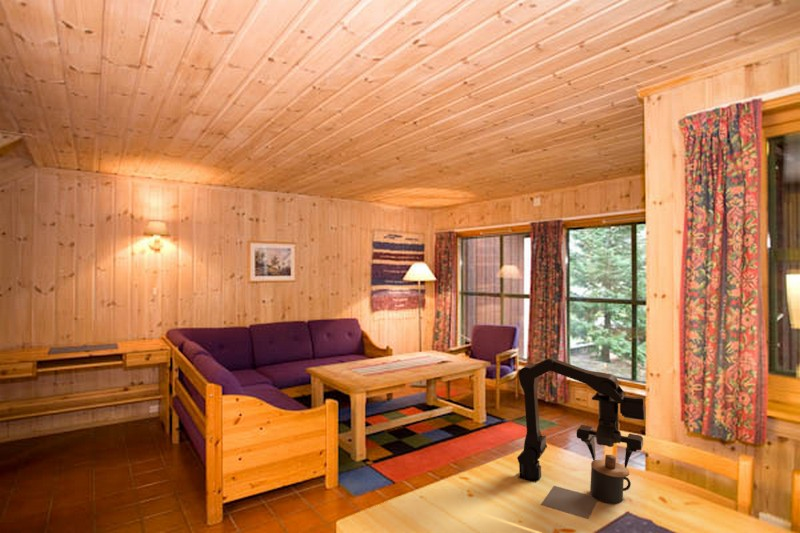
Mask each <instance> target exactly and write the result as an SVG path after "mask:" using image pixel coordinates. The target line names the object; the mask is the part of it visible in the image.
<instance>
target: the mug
mask: <svg viewBox="0 0 800 533" xmlns="http://www.w3.org/2000/svg"><path fill="white" fill-rule="evenodd" d="M590 466H591V465H590ZM590 468H591V470H590V487H589V488H590V490H589V492H590V494H591V496H593V497H594V498H596V499H597V501H600V502H603V503H606V504H610V505H611V504H612V505H618V504H621V503H622V502H623V498H624V492H626V491H629V489H630V487H631V484H632V483H631V481H630V479H629V477H628V476H626V477H613V476H608V475H605V474H602V473H600V472H598V471H596V470H594V469H593V468H592V466H591V467H590ZM624 480H626V482H627V485H626V487H624V482H625V481H624Z"/></svg>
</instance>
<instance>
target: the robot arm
mask: <svg viewBox="0 0 800 533" xmlns="http://www.w3.org/2000/svg"><path fill="white" fill-rule="evenodd" d="M549 372H552V373H556V374H558V375H561V376H564V377H566V378H570V379H572V380H574V381H577V382H579V383H582V384H585V385H587V386H588V387H590V388H591V389H592V390H593V391H595V392H596V393H595V394H594V395H592V397H591V400H592V401H598V424H597V427H596V430H594V427H593V426H589V425H584V424H581V425H579V427H578V428H577V430H576V438H577V439H580V441H581V442H583V443H585V444H586V446H587V448H588V451H589V453H590V455H591V457H592V461H595V460H596V446H595V445H598V446H606V447H608V448H613V447H614V446H615V444H621V443H623V444H626V447H625V456H624V466H625V468H628V467H627V466H628V463H629V461H630V458H631V456H632V453H633V452H634V453H635V452H638V451H642V448H643V446H644V437H643V436H642V435H639V434H635V433H628V434H627V436H626V435H622V432H621V431H620V423H619V422H620V421H619V418H620V417H619V414H620V415H621V416H622V417H624V419H630V420H637V421H644V422H645V420H646V406H645V398H644V397H642V396H637V397H636V396H629V395H627V394H626V392H625V391H624V390H623V388H622V387H621V386H620V384H619V383H620V382H619V380H618V378H617V377H616V376H615V375H614V374H612V373H605V372H600V371H591V370H587V369H585V368H582V367H579V366H576V365H573V364H572V363H571V364H570V363H568V362H565V361H562V360H559V359H557V358H555V357H552V356H550V357H547V358H546V359H544V360H542V361H540V362H537V363H535V364H534V363H533V364H532V363H529V364H526V365H525V366H523V367H522V368H520V369H519V371H518V379H519V385H520V387H521V389H522V391H523V393H524V394H523V395H524V396H523V397H524V409H525V410H524V412H525V425H526V434H525V439H524V442H523V450H522V451H521V453H519V455H518V456H517V463H518V465H519V466H518V468H519V474H518V476H517V479H519V480H524V481H528V482H532V483H537V482H538V481H539V480H540V479H541V478H542V466H541V465H540V460H539V459H540V458H541V457H542V455H543V454H544V453H545V451H546V449H547V447H548V445H547V435H543V434H542V432H541V430H540V417H539V416H540V415H539V414H540V413H539V401H538V388H539V385H540V384H539V383H540V377H541V376H542V375H545V374H546V373H549ZM595 439H596V441H595Z"/></svg>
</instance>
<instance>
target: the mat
mask: <svg viewBox="0 0 800 533" xmlns="http://www.w3.org/2000/svg"><path fill="white" fill-rule="evenodd" d="M597 502H598V500H597V499H596V498H594V497H593V496H592V495H590V494H586V493H583V492H579V491H575V490H571V489H568V488H565V487H561V486H557V485H553V486H552V488H551V489H550V490H549V492H548V493H547V495H546V496H545V497H544V499H543V500H542V502H541V503H540V506H543V507H546V508H550V509H553V510H557V511H559V512H560V511H561V512H563V513H567V514H571V515H572V516H573V515H574V516H576V517H580V518H583V519H588V520H589V519H590V517H591V515H592V513H593V511H594V508H595V507H596V504H597Z"/></svg>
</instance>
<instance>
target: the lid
mask: <svg viewBox="0 0 800 533" xmlns="http://www.w3.org/2000/svg"><path fill="white" fill-rule="evenodd" d="M604 456H605V459H595V461H594V460H592V461H591V464H590V466H592V468H593V469H594V470H596V471H598V472H600V473H602V474H605V475H608V476H613V477H628V476H629V475H630V469H629V468H628V467H626V468H625V465H624V464H621V463H619V462H617V458H616V457H617V456H616V455H612V454H605V455H604Z"/></svg>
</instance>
